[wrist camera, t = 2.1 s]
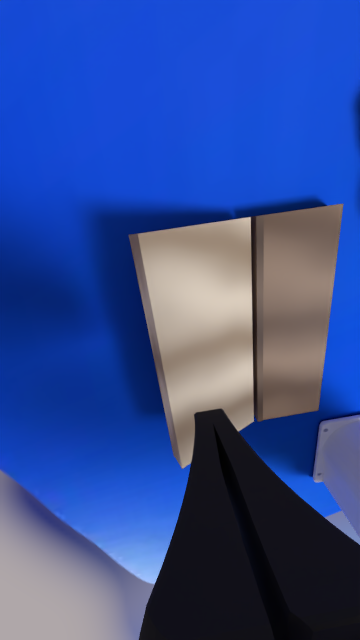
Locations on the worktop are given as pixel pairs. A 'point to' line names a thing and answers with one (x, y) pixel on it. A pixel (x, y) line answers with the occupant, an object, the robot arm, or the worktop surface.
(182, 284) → the maple plank
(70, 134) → the worktop surface
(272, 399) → the walnut strip
